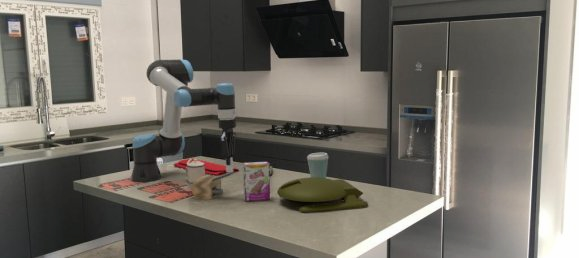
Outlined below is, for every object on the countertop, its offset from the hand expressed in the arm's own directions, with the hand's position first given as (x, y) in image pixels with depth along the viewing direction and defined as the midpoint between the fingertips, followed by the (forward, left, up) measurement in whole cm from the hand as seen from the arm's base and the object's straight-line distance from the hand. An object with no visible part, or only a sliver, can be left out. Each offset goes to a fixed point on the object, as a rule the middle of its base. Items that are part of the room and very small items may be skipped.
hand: (229, 171), depth 215 cm
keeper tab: (-3, -2, -2) cm, 4 cm away
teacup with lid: (-40, +8, -12) cm, 43 cm away
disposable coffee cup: (+12, +45, -12) cm, 48 cm away
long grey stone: (-20, +36, -13) cm, 43 cm away
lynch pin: (-9, -5, -12) cm, 16 cm away
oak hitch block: (-11, -4, -12) cm, 17 cm away
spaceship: (+32, +22, -13) cm, 41 cm away
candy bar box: (+11, +6, -12) cm, 17 cm away
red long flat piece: (-60, +29, -13) cm, 68 cm away
